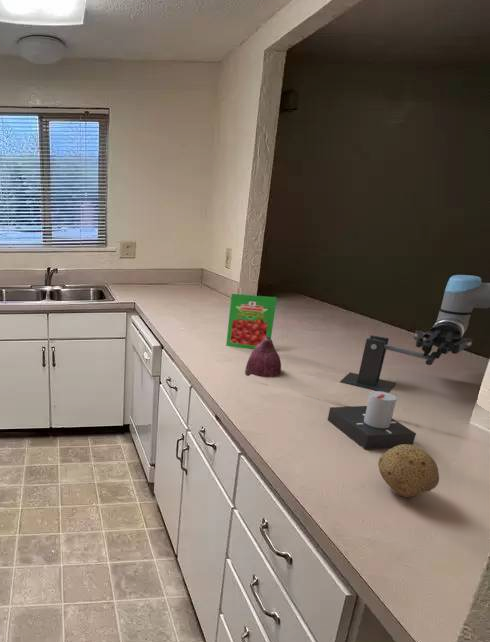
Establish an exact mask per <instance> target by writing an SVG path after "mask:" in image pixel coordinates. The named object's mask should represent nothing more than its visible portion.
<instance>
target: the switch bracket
mask: <svg viewBox="0 0 490 642" xmlns="http://www.w3.org/2000/svg"><path fill="white" fill-rule="evenodd" d="M375 339H377V340H375ZM389 341H390V339H389V337H384V336H377V335H373V334H371V335H370V336H369V338H368V337H367V338H366V339H365V344H364V348H363V352H362V358H361V362H360V365H359V366H360V367H359V370H358V373H354V372H348V373H347V374H346V375H345V376H343V378H341V379H340V381H339V383H340V384H346V385H349V386H353V387H357V388H361V389H366V390H368V391H369V390H370V391H381V392H386V393H390V392H391V390H392V389H393V388H394V386H395V385H396V382H395V381H391V380H386V379H382V378H380V377H381V374H382V370H383V369H382V368H383V364H384V361H385V357H386V352H387V349H384V346H385V345H389V344H388V343H389Z"/></svg>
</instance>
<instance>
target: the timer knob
mask: <svg viewBox="0 0 490 642" xmlns="http://www.w3.org/2000/svg"><path fill="white" fill-rule="evenodd" d="M397 399H398V398H397V396H396V395H394V394H392V393H390V392H388V393H386V392H381V391H374V390H372V391H371V392H369V397H368V400H367V404H366V406H367V409H366V413H365V417H364V422H365V423H366V424H367V425H369V426H372V427H375V428H381V429H385V428H389V426H390V423H391V419H392V418H393V415H394V410H395V407H396V403H397Z"/></svg>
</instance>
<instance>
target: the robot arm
mask: <svg viewBox="0 0 490 642" xmlns="http://www.w3.org/2000/svg"><path fill="white" fill-rule="evenodd" d="M474 309H490V282H482V277H480V276H477V275H469V274H455V275H452V276H451V277H449V279H448V281H447V284H446V287H445V289H444V293H443V298H442V301H441V306H440V308H439V311H438V315H437V318H436V322H434V324H433V325H432V327H431V328H430V329H429V330H428V331H422V330H420V329H416V330H415V331H414V335H413V339H414V340H415V348H421V351H422V352H423V354H424V355H423V356H426V357H427V356H428V355H430V353H432V349H433V346H434V347H436V351H435V352H436V356H435V358H436V359H437V360H438V359H439V358H440V357H441V356H442V355H447V354H449V353H450V352H451V354H453V355H457V354H459V353H460V352H462V351H464V350H465V349H470V348H471V346H472V343H473V338H471V337H467V338H465V337H463V336H464V333H465V332H467V331H468V328H469V324H470V323H469V322H470V319H471V315H472V313H473V310H474ZM424 339H425V340H424Z"/></svg>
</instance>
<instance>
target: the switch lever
mask: <svg viewBox="0 0 490 642" xmlns="http://www.w3.org/2000/svg"><path fill="white" fill-rule="evenodd" d="M375 340H377V339H375ZM384 349H386V351H387V350H388V351H391V352H396V353H400V354H404V355H407V356H411V357H415V358H420V359H424V360H425V365H427V366H432V365H433V363H434V362H435V361H436V359H437V358H435V356H436V352H437V351H433V352H432V351H431V354H428V356H427V357H426V356H423V355H424V353H422V352H419V351H414V350H409V349H405V348H401V347H399V346H397V347H396V346H393V345H390V344H387V345H385V346H384Z"/></svg>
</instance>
